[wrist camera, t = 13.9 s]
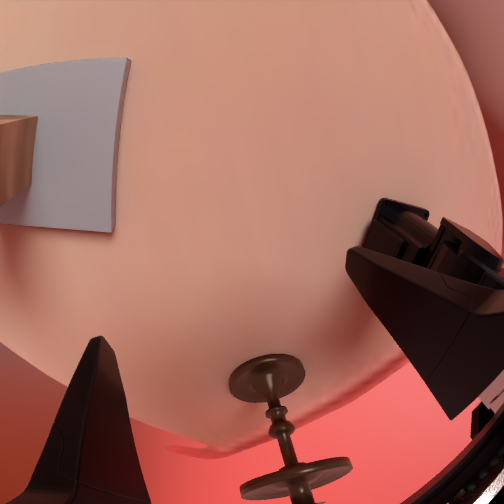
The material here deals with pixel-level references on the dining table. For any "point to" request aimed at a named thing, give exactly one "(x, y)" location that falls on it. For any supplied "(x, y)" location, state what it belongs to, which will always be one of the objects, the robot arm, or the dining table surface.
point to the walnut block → (16, 154)
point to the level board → (68, 141)
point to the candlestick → (282, 431)
